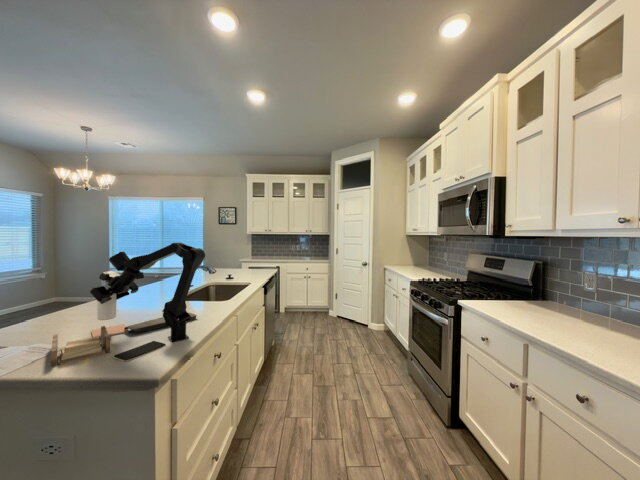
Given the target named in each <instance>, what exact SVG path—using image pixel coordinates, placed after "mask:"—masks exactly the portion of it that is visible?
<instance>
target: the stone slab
mask: <svg viewBox="0 0 640 480" xmlns="http://www.w3.org/2000/svg"><path fill="white" fill-rule="evenodd" d="M188 314H189V315H190V316H191V319H190V321H193V320H194V321H195V320H196V319H197V316H198V315H197V314H195V313H192V312H188ZM177 320H179V319H177ZM166 327H167V326H166V323H165V320H164V317H163V316H162V317H158V318H156V319H150V320H146V321H143V322H138V323H135V324H131V325H127V326H126V327H125V328H124V330H126V329H128V330H131V331H134V332H136V333H140V332H146V331H150V330H151V331H152V330H155V329H161V328H166Z"/></svg>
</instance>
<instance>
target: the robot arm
mask: <svg viewBox="0 0 640 480" xmlns="http://www.w3.org/2000/svg"><path fill="white" fill-rule="evenodd" d="M175 254H176V255H177V256H178V257H180V258H181V259H182V261H181V262H182V267H183V269H182V271H181V275H180V278H179V279H178V283H177V286H176V288H175V291H174V294H173V297H172V299H171V300H169V301H167V302H164V307H163V310H162V311H161V312H162V317H164V320H165V323H166V327H168V328H170V336H167V339H168V340H170V342H172V343H175V342H178V341H183V340H188V339H189V338H190V336H188V334H187V323H188V322H191V320H190V319H191V316H190V315H189V314H188V313H189V312H188V311H187V303H186V300H187V297H188V294H189V291H190V288H191V285H192V283H193V279H194V278H195V277H194V276H195V273H196V271H197V269H198V268H200V266H201V265H202V263H203V262H204V260H205V258H206V253H205V251H204V249H202V248H201V247H200V248H199V247H198V248H196V247H194V246H190V245H187V244H185V243H182V242H172V243H171V244H169V245H167V246H164V247H162V248H160V249H157V250H155V251H152V252H150V253H148V254H143V255H139V256H134V257H132V258H130V257H129V255H127V253H126V252H125V251H119V252H117V253H116V254H113V255H112V256H110V257H109V258H108V262H109V263H110V264H111V265H112V266H113V267H114V269H116V270H117V272H116V271H114V270H110V271H109V270H108V271H104V272H102V273H101V274H99V276H98V277H99V280H101V281H103V282H104V281H105V282H107V286H108V287H107V288H106V286H104V285H100V286H94V287H92V288H91V289H90V290H89V293H90V294H91V295H92V296H93V297H94V298H95V300H96V301H99V302H100V303H101V304H103V303H105V302H107V301H109V300H111V299H112V298H111V296H112V295H113V294H116V301H117V300H120V299H122V298H124V297H127V296H129V295H130V294H131V295H132V294H135V293H137V292H138V291H140V290H139V286H138V285H137V284H136V282H135V281H136V280H141V279H144V278H145V276H144V272H143V271H144V270H148V269H150V268H152V267H153V266H154V265H155V264H156V263H157V262H159V261H162V260H164V259H166V258H168V257H171V256H173V255H175ZM142 270H143V271H142ZM120 271H121V274H119V273H118V272H120ZM129 290H130V292H129ZM177 319H179V320H177Z"/></svg>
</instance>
